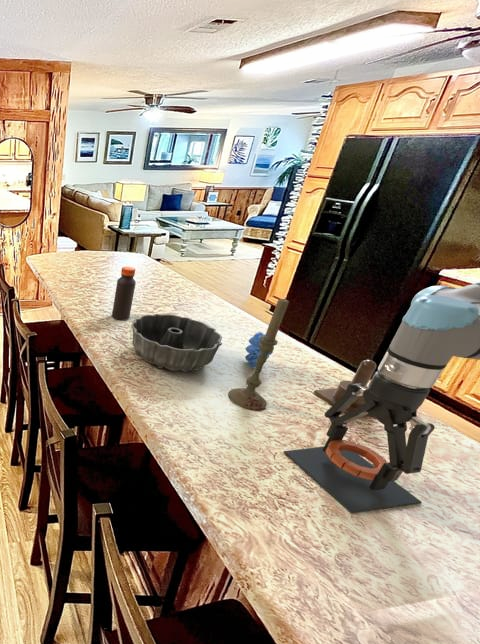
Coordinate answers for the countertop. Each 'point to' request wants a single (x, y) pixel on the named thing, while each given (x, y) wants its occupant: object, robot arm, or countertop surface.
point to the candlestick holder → (260, 364)
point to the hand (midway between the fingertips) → (351, 468)
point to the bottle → (124, 294)
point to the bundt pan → (175, 341)
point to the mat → (349, 481)
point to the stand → (360, 377)
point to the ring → (350, 466)
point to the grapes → (254, 349)
